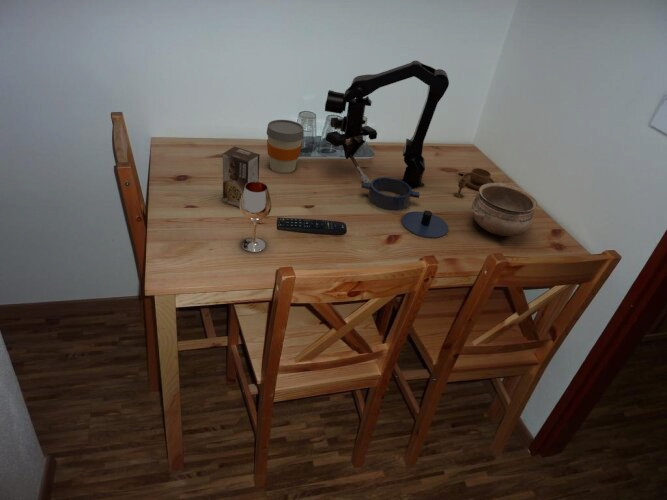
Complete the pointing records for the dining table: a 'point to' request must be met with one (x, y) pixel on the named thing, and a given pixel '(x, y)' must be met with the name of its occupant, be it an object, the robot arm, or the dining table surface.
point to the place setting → (474, 180)
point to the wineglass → (255, 211)
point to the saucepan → (386, 200)
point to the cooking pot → (503, 209)
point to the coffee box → (238, 173)
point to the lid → (425, 224)
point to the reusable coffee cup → (284, 144)
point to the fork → (359, 169)
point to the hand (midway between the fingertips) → (348, 158)
